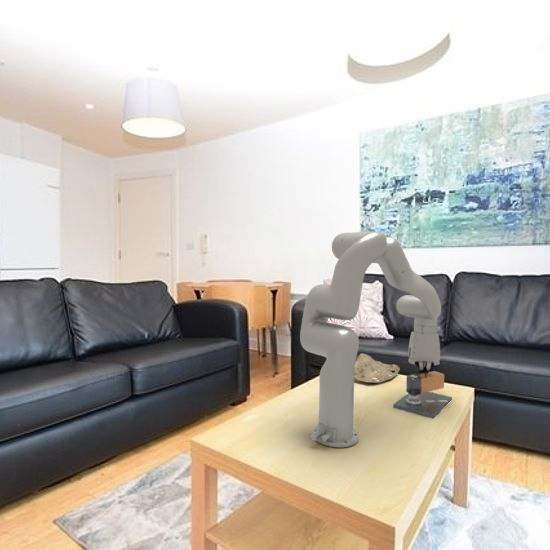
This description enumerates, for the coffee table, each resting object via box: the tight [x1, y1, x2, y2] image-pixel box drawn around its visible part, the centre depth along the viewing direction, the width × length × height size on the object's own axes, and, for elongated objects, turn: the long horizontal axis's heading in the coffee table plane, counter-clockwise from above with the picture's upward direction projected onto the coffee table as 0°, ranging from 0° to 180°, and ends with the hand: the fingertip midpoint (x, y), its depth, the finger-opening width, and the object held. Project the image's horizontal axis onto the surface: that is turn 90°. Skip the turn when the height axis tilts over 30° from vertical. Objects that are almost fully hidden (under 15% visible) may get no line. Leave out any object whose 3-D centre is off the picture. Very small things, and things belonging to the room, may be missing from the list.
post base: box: [392, 391, 453, 419], centre depth 132 cm, size 20×13×4 cm
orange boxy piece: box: [405, 370, 445, 395], centre depth 132 cm, size 15×5×6 cm, turn 118°
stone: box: [354, 353, 401, 384], centre depth 163 cm, size 30×10×15 cm
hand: (423, 379), depth 138 cm, fingers closed
